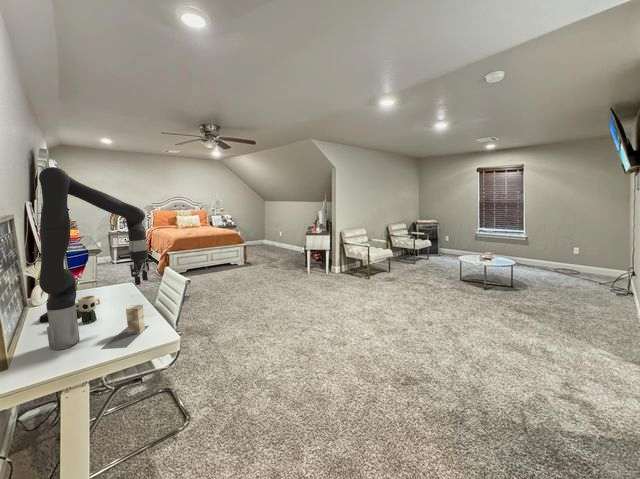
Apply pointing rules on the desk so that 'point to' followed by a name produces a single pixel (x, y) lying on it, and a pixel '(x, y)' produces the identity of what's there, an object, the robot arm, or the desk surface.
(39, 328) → the desk surface
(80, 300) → the character mug
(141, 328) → the birch block
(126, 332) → the rubber mat
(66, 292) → the robot arm
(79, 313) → the portable cd player
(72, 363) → the desk surface
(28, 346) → the desk surface
